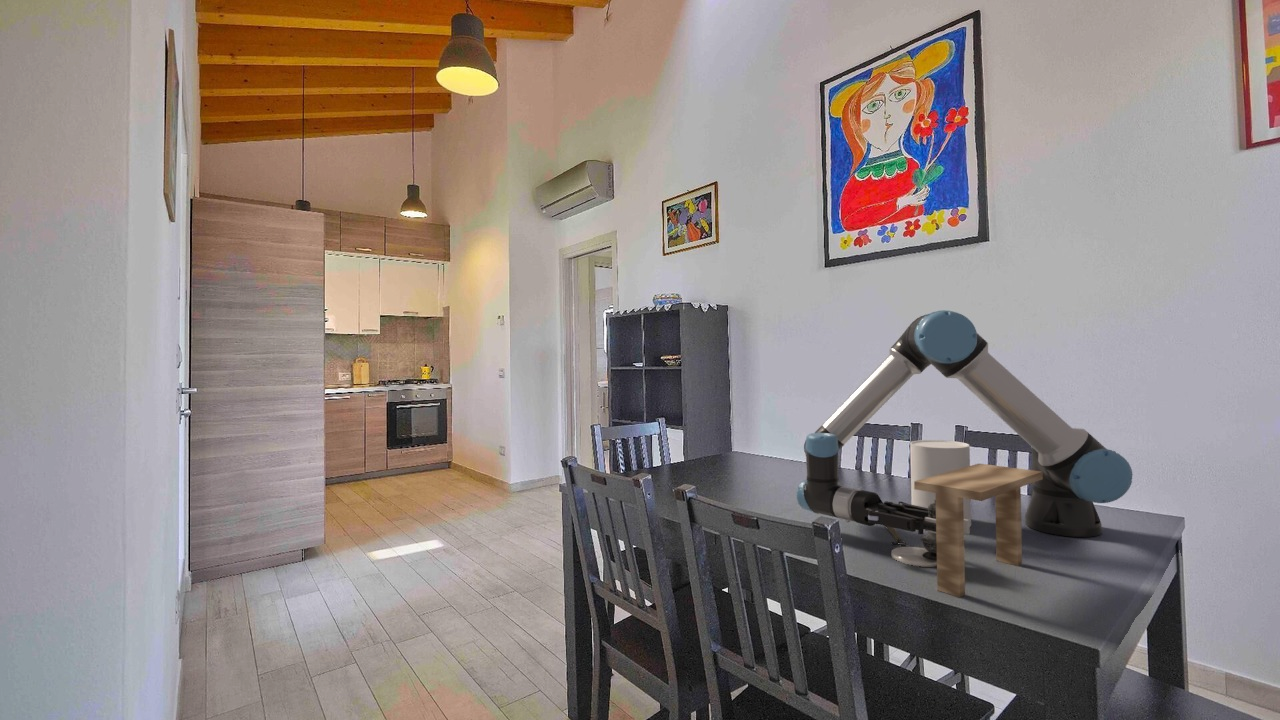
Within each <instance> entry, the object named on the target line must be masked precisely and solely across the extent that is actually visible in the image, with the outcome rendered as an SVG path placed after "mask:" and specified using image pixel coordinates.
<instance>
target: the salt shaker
mask: <svg viewBox="0 0 1280 720" xmlns="http://www.w3.org/2000/svg"><path fill="white" fill-rule="evenodd" d="M928 518H933V519H936V499H935V503H933V504H930V505H929V507H928ZM920 540H921V541H922V545H923V548H924V549H926V550H927V551H928V552H926V553H924V554H923V557H924V558H926V559H929V560H932V561H937V543H936V533H932V532H927V535H923V536H921V537H920Z"/></svg>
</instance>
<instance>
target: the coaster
mask: <svg viewBox="0 0 1280 720" xmlns="http://www.w3.org/2000/svg"><path fill="white" fill-rule="evenodd" d="M926 552H928V551H927V550H926V549H925V548H924V547H919V546H918V547H917V546H914V547H906V546H899V547H896V548H893V549H892V550H891V555H890V556H891V558H892V559H893V560H894V559H895V560H894V561H896V560H897V562H898V561H900V562H902V563H901V564H903V563H905V564H904V565H907V564H909V565H908V566H911V565H913V567H919V566H921V567H922V568H931V567H933V568H934V567H937V561H932V560H929V559H926V558H924V557H923V554H924V553H926ZM900 562H899V563H900ZM921 567H920V568H921Z"/></svg>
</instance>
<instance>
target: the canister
mask: <svg viewBox="0 0 1280 720" xmlns="http://www.w3.org/2000/svg"><path fill="white" fill-rule="evenodd" d="M909 445H910V446H909V448H910V455H909V456H910V492H911V493H910V494H911V497H910V498H911V505H915V506H920V507H924V508H928V507H929V505H930V504H933V503H935V499H936V495H935V493H933V492H927V491H922V490H916V489H914V481H917V480H921V479H925V478H928V477H932V476H935V475H939V474H943V473H946V472H950V471H954V470H957V469H961V468H964V467H968V466H971V459H970V458H971V455H970V451H971V447H970V446H971V445H970V444H969V443H966V442H962V441H954V440H943V439H942V440H941V439H921V440H914V441H913V440H912V441H910V443H909ZM971 500H972V499H967V498H963V511H964V519H967V520H969V524H970V527H971V526H972V507H971V506H972V505H971V504H972V503H971V502H972V501H971Z"/></svg>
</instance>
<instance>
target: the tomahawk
mask: <svg viewBox="0 0 1280 720" xmlns="http://www.w3.org/2000/svg"><path fill="white" fill-rule="evenodd" d="M886 527H887V528H888V529H887V528H886ZM885 528H886V529H887V530H888V531H890V532H891V533H890V532H889V533H890V534H891V536H892V535H893V536H894V537H893V536H892V537H893V539H894V540H895V539H896V540H897V541H896V540H895V541H891V543H892V544H891V545H892V546H893V545H901V546H900V547H906V545H907V544H906V543H907V542H903V541H904V540H902V538H901V536H900V535H899V534H898V532H897V531H896V528H893V527H888V526H885ZM898 543H905V544H898Z"/></svg>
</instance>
